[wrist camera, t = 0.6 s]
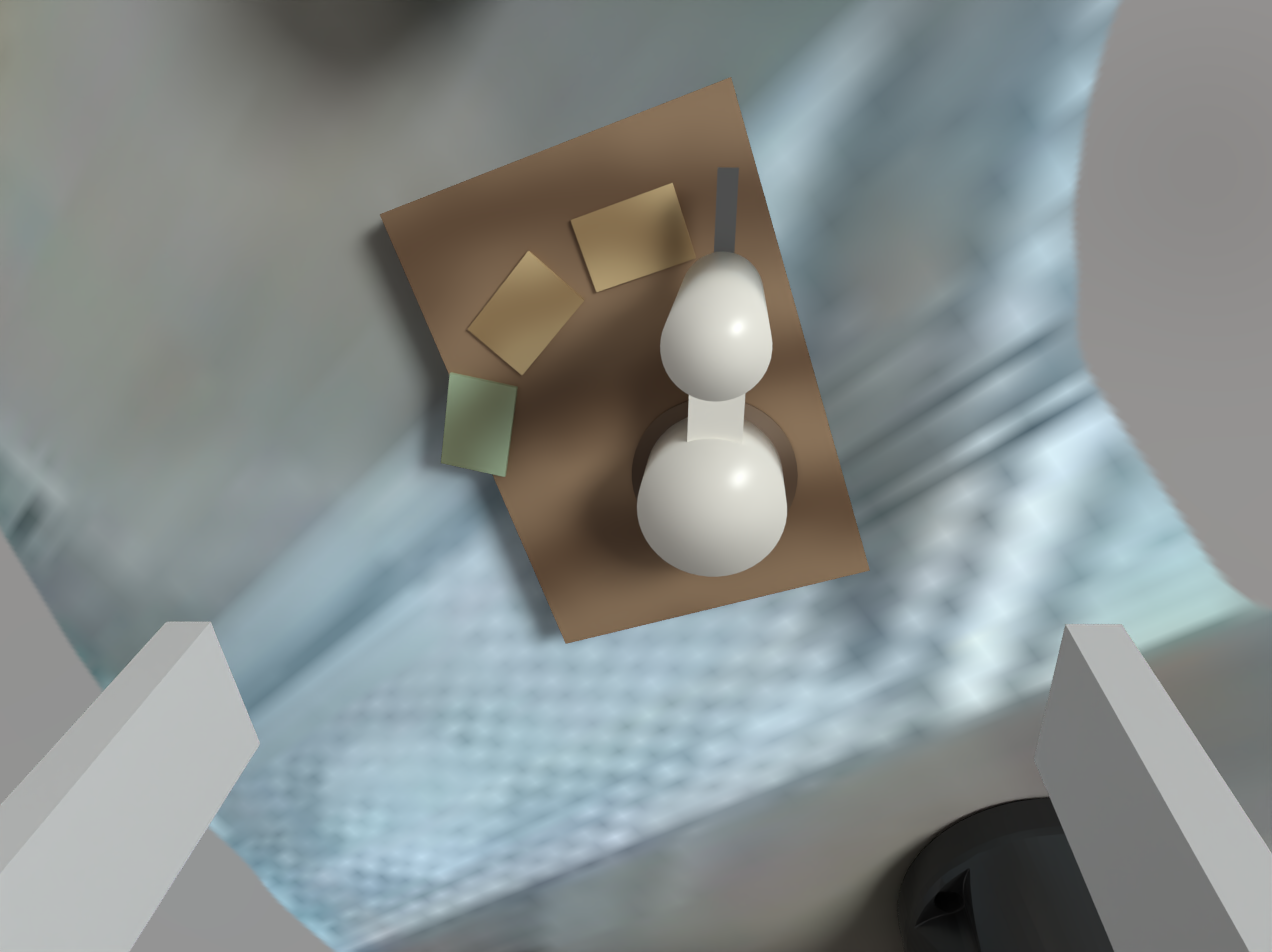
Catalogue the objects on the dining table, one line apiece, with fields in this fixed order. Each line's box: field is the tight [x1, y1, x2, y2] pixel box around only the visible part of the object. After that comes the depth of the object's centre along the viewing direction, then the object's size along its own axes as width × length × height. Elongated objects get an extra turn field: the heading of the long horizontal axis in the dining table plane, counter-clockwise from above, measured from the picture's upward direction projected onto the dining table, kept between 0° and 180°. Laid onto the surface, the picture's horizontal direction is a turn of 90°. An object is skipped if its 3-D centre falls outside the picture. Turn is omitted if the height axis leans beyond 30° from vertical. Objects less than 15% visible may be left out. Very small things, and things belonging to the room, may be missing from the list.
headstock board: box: [380, 77, 869, 644], centre depth 34 cm, size 20×16×2 cm
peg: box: [637, 167, 787, 577], centre depth 27 cm, size 15×6×11 cm, turn 179°
